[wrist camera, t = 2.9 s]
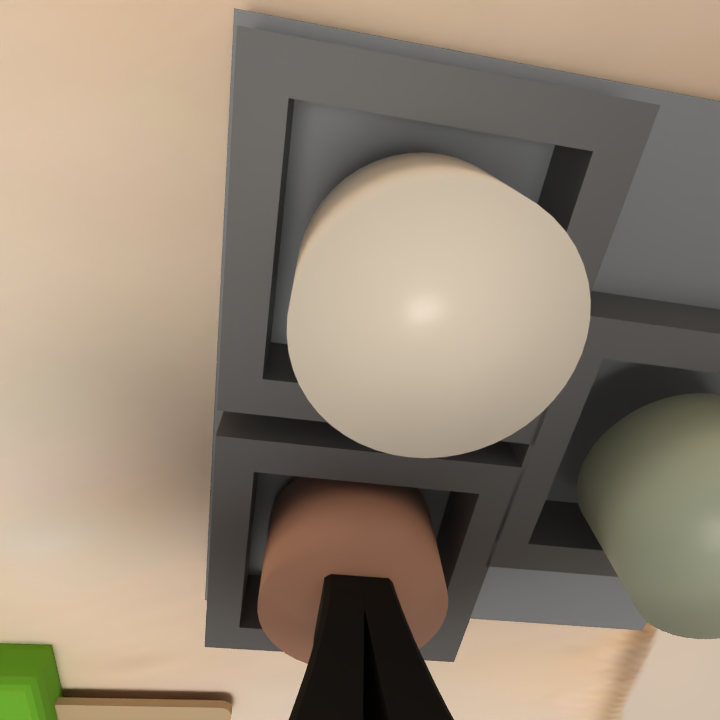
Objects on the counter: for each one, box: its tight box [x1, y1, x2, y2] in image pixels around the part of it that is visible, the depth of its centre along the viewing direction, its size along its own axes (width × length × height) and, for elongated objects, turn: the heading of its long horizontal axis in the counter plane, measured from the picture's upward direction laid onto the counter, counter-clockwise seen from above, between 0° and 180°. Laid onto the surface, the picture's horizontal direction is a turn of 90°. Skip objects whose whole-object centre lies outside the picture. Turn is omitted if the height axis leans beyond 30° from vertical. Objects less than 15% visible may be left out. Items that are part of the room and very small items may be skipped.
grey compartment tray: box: [205, 8, 720, 662], centre depth 13 cm, size 13×14×3 cm
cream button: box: [287, 152, 591, 458], centre depth 8 cm, size 4×4×2 cm
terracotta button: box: [257, 476, 448, 664], centre depth 13 cm, size 4×4×2 cm
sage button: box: [577, 393, 720, 639], centre depth 11 cm, size 4×4×2 cm
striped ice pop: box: [0, 644, 232, 720], centre depth 18 cm, size 6×15×2 cm, turn 84°
